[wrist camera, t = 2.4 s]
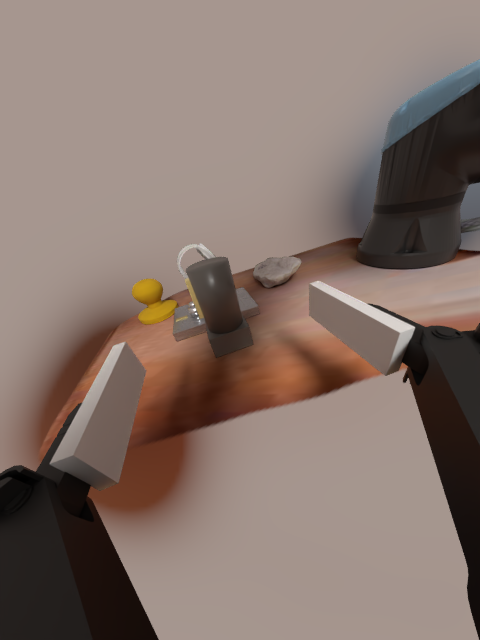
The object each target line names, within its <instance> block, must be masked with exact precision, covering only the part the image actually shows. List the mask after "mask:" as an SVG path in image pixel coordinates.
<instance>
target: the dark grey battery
mask: <svg viewBox="0 0 480 640" xmlns="http://www.w3.org/2000/svg"><path fill="white" fill-rule="evenodd" d="M186 273H187V275H188V278H187V279H185V282H186V285H187V287H188V290H189V292H190V295H191V297H192V300H193V302H194V305H195V307H196V310H197V312H198V315H199V317H200V319H202V318H204V319H205V323H206V328H207V333H208V338H209V342H210V344H211V347H212V349H213V352H214V354H215V357H216V358H217V357H219V356H222V355H225V354H228V353H231V352H234V351H236V350H239V349H242V348H245V347H248V346H251V345H253V340H252V336H251V332H250V327H249V325H248V323H247V322H246V320H245V318H244V317H243V315H242V313H241V310H240V306H239V302H238V298H237V293H236V289H235V285H234V281H233V277H232V274H231V270H230V265H229V261H228V258H226V257H215V258H210V259H206V260H202V261H200V262H197V263H195V264H193V265H191V266H189V267H188V268H187V269H186Z"/></svg>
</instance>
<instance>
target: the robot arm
mask: <svg viewBox="0 0 480 640" xmlns="http://www.w3.org/2000/svg"><path fill="white" fill-rule="evenodd" d="M382 153H383V155H382V161H381V168H380V173H379V179H378V185H377V191H376V197H375V202H374V209H373V214H372V218H371V220H370V222H369V225H368V227H367V229H366V231H365V233H364V236H363V238H362V241H361V242H360V243H359V245H358V248H357V255H356V258H357V260H358V261H360V262H361V263H364V264H367V265H370V266H375V267H382V268H402V269H403V268H421V267H429V266H434V265H439V264H443V263H446V262H448V261H450V260H452V259H454V258H455V256H456V254H457V252H458V249H459V247H460V244H461V222H460V206H461V203H462V200H463V198H464V195H465V192H466V190H467V188H468V186H469V185H470V184H474V183H479V182H480V59H479V60H477V61H475V62H473V63H471V64H469V65H467V66H465V67H463V68H461V69H460V70H457V71H456V72H454V73H452V74H450V75H448V76H446V77H445V78H443V79H441V80H439V81H437V82H436V83H434V84H432V85H431V86H429V87H427V88H426V89H424V90H423V91H421V92H419V93H418V94H416V95H415V96H413V97H412V98H410V99H409V100H407V101H406V102H405V103H404V104H402V105H401V106H400V107H399V108H398V109H397V110H396V112H395V113H394V114H393V115H392V117H391V119H390V121H389V123H388V127H387V132H386V137H385V142H384V147H383V149H382V150H381V154H382ZM309 316H311V317H312V318H313V319H315V320H316V321H317V322H318V323H320V324H321V325H322V326H323V327H325V328H326V329H327V330H328V331H330V332H331V333H332V334H333V335H335V336H336V337H337V338H338V339H340V340H341V341H342V342H343V343H345V344H346V345H347V346H348V347H350V348H351V349H352V350H354V351H355V352H356V353H357V354H359V355H360V356H361V357H362V358H364V359H365V360H366V361H367V362H369V363H370V364H371V365H372V366H374V367H375V368H376V369H377V370H379V371H380V372H381V373H382V374H384V375H385V376H387V375H390V374H392V373H394V372H397V371H399V368H400V366H401V363H402V362H403V363H404V364H406V365H407V366H408V368H407V370H406V373H405V375H404V378H403V382H404V383H405V382H406V381H407V378H409V380H410V384H411V386H412V390H413V393H414V396H415V399H416V402H417V406H418V409H419V412H420V415H421V418H422V421H423V425H424V428H425V431H426V434H427V438H428V441H429V444H430V447H431V450H432V453H433V456H434V460H435V463H436V466H437V469H438V473H439V476H440V479H441V482H442V485H443V489H444V492H445V495H446V498H447V501H448V505H449V508H450V511H451V514H452V518H453V521H454V524H455V527H456V530H457V534H458V537H459V540H460V543H461V546H462V549H463V553H464V556H465V559H466V563H467V567H468V574H469V575H468V585H467V591H468V600H469V604H470V609H471V613H472V616H473V620H474V623H475V627H476V630H477V634H478V637H479V640H480V323H479V325H478V326H477V328H476V330H473V331H462V332H460V331H458V330H456V329H453V328H449V327H445V326H429V327H424V326H422V325H420V324H418V323H415V322H413V321H411V320H409V319H407V318H405V317H402V316H400V315H398V314H397V315H396V313H394V312H392V311H388V310H387V309H385V308H383V307H381V306H378V305H373V304H366V303H364V302H362V301H360V300H358V299H356V298H354V297H352V296H349V295H347V294H345V293H343V292H341V291H339V290H337V289H335V288H333V287H331V286H329V285H327V284H325V283H322V282H320V281H316V282H313V283H310V284H309ZM145 373H146V370H145V368H144V367H143V365H142V364H141V362H140V361H139V360H138V358H137V357H136V355H135V354H134V353H133V351H132V350H131V348H130V347H129V346H128V344H127V343H126V342H123V343H120V344H117V345H114V346H113V348H112V349H111V351H110V353H109V355H108V357H107V359H106V360H105V362H104V364H103V366H102V368H101V370H100V372H99V373H98V375H97V377H96V379H95V381H94V383H93V384H92V386H91V388H90V390H89V392H88V394H87V395H86V397H85V399H84V401H83V403H80V404H78V405H77V406H76V407H75V409H74V410H73V411H72V412H71V413H70V414H69V415H68V417H67V419H66V421H65V422H64V424H63V428H61V429H60V431H59V433H58V434H57V437H56V438H55V440H54V441H53V443H52V445H51V447H50V448H49V450H48V452H47V453H46V455H45V457H44V459H43V460H42V462H41V464H40V466H39V467H38V469H37V471H36V472H34V471H32V470H30V469H28V468H26V467H24V466H22V465H19V466H13V467H11V468H9V469H7V470H5V471H3V472H2V473H0V640H159V639H158V638H157V635H156V633H155V631H154V629H153V627H152V625H151V623H150V621H149V618H148V616H147V614H146V612H145V610H144V608H143V606H142V604H141V602H140V600H139V598H138V596H137V594H136V591H135V589H134V587H133V585H132V583H131V581H130V579H129V577H128V574H127V572H126V570H125V568H124V566H123V564H122V562H121V560H120V558H119V556H118V554H117V552H116V549H115V547H114V545H113V543H112V541H111V539H110V537H109V535H108V533H107V530H106V529H105V526H104V525H103V522H102V520H101V518H100V516H99V514H98V512H97V510H96V507H95V505H94V503H93V501H92V500H91V499H90V498H89V497H87V495H88V492H89V489H90V486H92V487H94V488H95V489H97V490H99V491H101V490H103V489H105V488H108V487H110V486H113V485H115V484H118V483H119V479H120V475H121V471H122V467H123V463H124V459H125V455H126V451H127V447H128V443H129V439H130V435H131V431H132V426H133V422H134V418H135V414H136V410H137V406H138V402H139V398H140V394H141V390H142V386H143V382H144V377H145Z"/></svg>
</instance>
